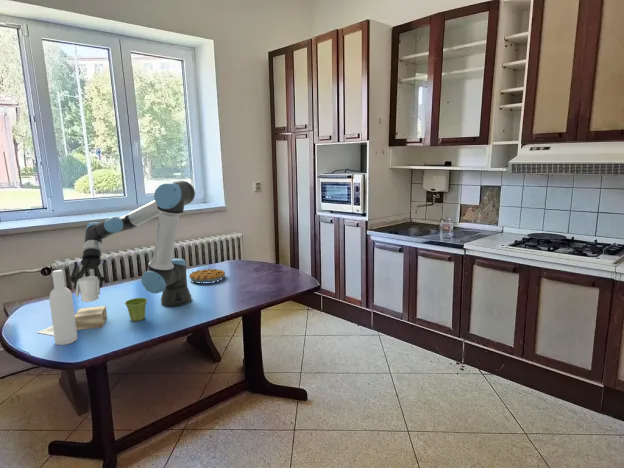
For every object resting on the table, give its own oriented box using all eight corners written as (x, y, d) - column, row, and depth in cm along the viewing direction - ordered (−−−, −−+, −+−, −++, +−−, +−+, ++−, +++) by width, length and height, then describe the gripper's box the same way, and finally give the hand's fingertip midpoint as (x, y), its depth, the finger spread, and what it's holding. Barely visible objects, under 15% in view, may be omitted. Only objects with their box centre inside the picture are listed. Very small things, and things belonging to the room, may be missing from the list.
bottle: (50, 343, 159) (40, 272, 154) (68, 335, 166) (59, 267, 161) (64, 346, 156) (55, 274, 151) (82, 338, 164) (73, 269, 158)
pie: (220, 285, 234) (220, 277, 233) (184, 285, 234) (183, 277, 233) (228, 274, 255) (228, 267, 254) (195, 274, 255) (195, 267, 255)
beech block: (80, 320, 182) (79, 308, 181) (107, 317, 185) (105, 305, 184) (74, 330, 172) (72, 317, 170) (102, 327, 175) (100, 314, 174)
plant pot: (134, 324, 177) (133, 306, 176) (122, 320, 182) (120, 302, 181) (152, 317, 185) (151, 300, 183) (140, 313, 190) (138, 296, 188)
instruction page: (76, 328, 174) (75, 327, 174) (57, 336, 165) (57, 335, 165) (55, 324, 178) (55, 324, 177) (36, 332, 169) (36, 332, 169)
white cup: (103, 297, 182) (101, 277, 180) (89, 303, 175) (86, 282, 173) (91, 295, 185) (88, 275, 183) (76, 301, 177) (73, 280, 176)
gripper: (117, 254, 194) (114, 295, 182) (70, 257, 188) (64, 300, 176) (114, 246, 188) (111, 288, 176) (65, 248, 182) (58, 293, 170)
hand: (87, 294), depth 176 cm, fingers closed on white cup, 8 cm apart
